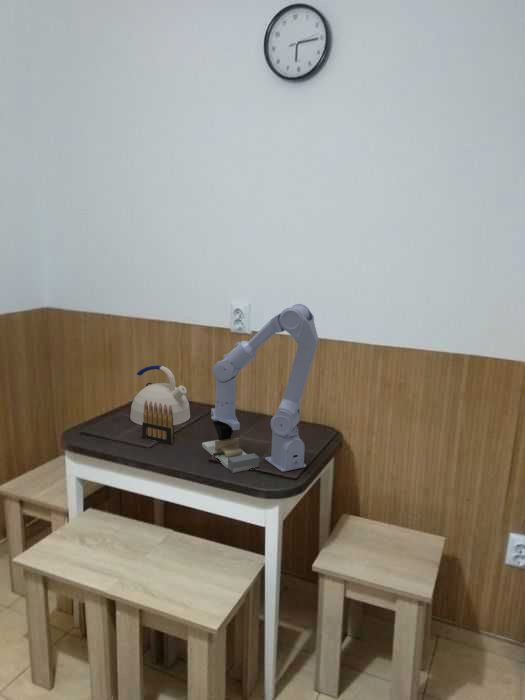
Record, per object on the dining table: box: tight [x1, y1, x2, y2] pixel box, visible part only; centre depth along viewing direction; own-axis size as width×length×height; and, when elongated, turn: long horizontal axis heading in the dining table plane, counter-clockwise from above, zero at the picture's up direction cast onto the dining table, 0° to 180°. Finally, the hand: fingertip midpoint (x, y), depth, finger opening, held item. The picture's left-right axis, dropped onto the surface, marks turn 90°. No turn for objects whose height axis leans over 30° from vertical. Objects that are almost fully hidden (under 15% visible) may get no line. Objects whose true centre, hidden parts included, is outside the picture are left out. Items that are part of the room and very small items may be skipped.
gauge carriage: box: [212, 436, 244, 457], centre depth 151 cm, size 5×9×3 cm, turn 120°
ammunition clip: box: [141, 400, 176, 446], centre depth 161 cm, size 11×2×12 cm, turn 65°
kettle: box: [129, 365, 191, 426], centre depth 182 cm, size 20×21×18 cm
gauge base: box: [201, 439, 260, 474], centre depth 152 cm, size 20×8×3 cm, turn 30°
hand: (224, 445), depth 155 cm, fingers closed
